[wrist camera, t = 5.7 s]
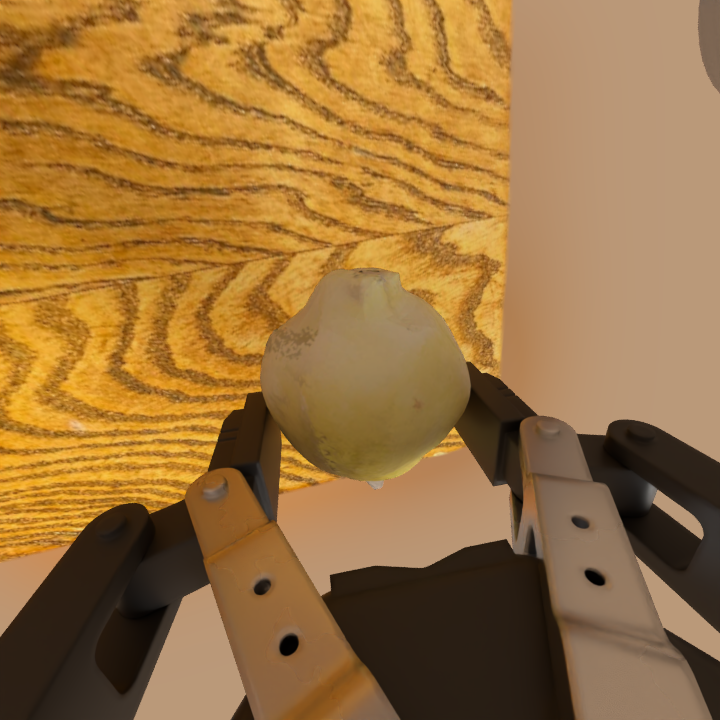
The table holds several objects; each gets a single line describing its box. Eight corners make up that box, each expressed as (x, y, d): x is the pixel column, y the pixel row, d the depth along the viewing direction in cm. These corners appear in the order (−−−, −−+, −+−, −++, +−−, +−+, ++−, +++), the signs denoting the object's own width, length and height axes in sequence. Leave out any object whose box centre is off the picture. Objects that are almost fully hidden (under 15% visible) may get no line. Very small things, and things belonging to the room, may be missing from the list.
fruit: (307, 484, 16) (206, 280, 10) (417, 422, 18) (383, 215, 12) (367, 612, 12) (248, 379, 6) (507, 513, 13) (524, 252, 7)
